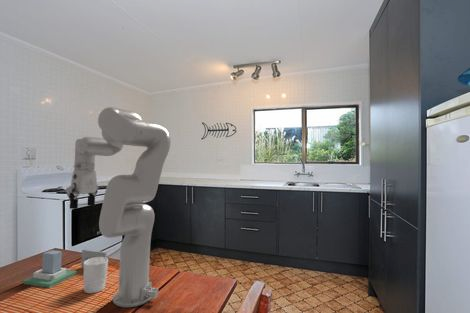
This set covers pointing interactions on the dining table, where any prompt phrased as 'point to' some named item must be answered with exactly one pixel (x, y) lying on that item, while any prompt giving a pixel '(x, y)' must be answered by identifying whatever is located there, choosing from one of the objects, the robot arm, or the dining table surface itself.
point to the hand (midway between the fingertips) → (82, 206)
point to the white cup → (95, 274)
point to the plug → (51, 262)
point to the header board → (49, 278)
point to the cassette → (91, 255)
